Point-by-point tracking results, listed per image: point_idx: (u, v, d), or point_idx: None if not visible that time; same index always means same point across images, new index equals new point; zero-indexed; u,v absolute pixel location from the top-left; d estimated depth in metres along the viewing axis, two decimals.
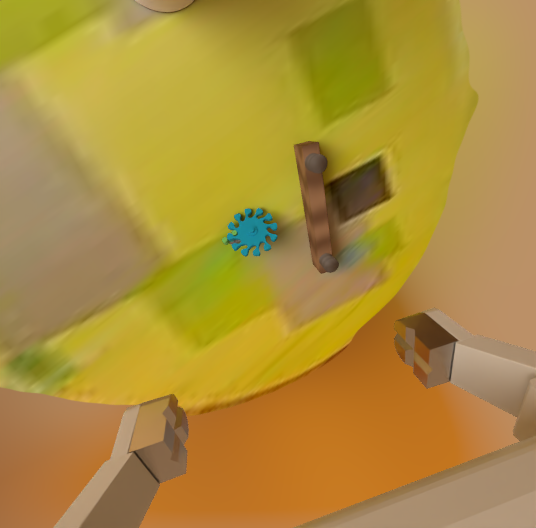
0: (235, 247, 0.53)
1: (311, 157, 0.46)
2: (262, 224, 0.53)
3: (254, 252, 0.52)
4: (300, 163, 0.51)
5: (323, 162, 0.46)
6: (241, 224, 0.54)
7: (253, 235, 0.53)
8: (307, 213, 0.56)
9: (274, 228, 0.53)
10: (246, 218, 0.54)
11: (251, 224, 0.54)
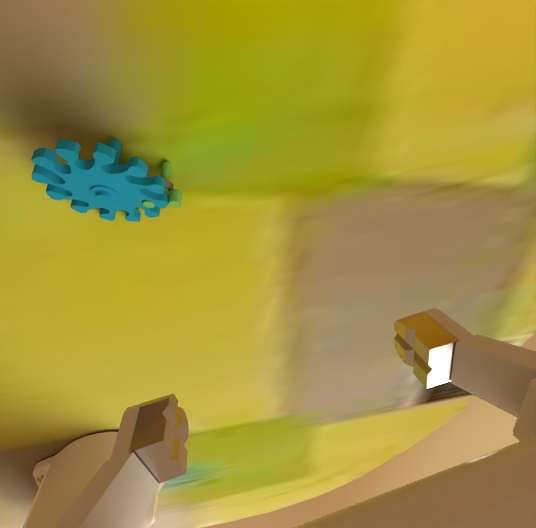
0: (156, 186, 0.23)
1: None
2: (76, 191, 0.23)
3: (109, 160, 0.20)
4: None
5: None
6: (128, 208, 0.26)
7: (103, 186, 0.22)
8: None
9: (40, 174, 0.21)
10: (113, 210, 0.26)
11: (104, 200, 0.24)
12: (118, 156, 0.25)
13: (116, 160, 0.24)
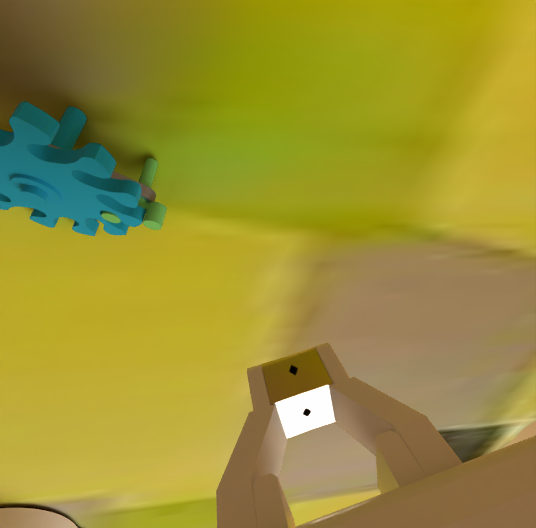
0: (125, 196, 0.14)
1: None
2: None
3: (41, 138, 0.11)
4: None
5: None
6: (78, 217, 0.16)
7: (32, 178, 0.13)
8: None
9: None
10: (52, 215, 0.16)
11: None
12: (76, 135, 0.15)
13: (70, 140, 0.15)
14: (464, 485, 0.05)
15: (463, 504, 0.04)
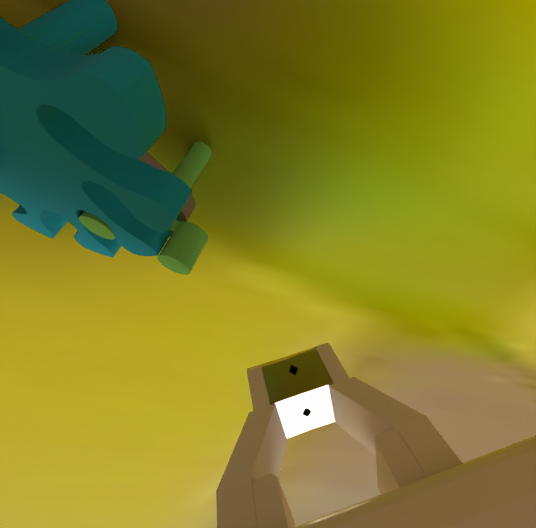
0: (153, 207, 0.06)
1: None
2: None
3: None
4: None
5: None
6: (28, 202, 0.08)
7: None
8: None
9: None
10: None
11: None
12: (84, 46, 0.07)
13: (69, 50, 0.07)
14: (464, 485, 0.05)
15: (463, 504, 0.04)
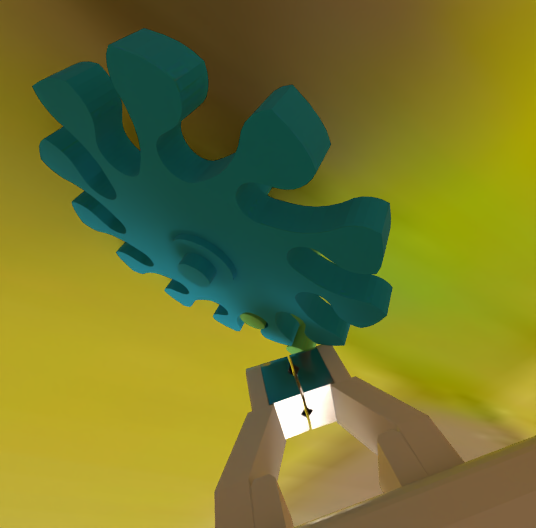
0: (330, 337, 0.09)
1: None
2: (133, 205, 0.07)
3: (358, 263, 0.05)
4: None
5: None
6: (202, 294, 0.10)
7: (224, 258, 0.07)
8: None
9: (81, 100, 0.05)
10: (163, 272, 0.10)
11: (173, 257, 0.09)
12: (269, 190, 0.10)
13: None
14: (464, 485, 0.05)
15: (463, 504, 0.04)
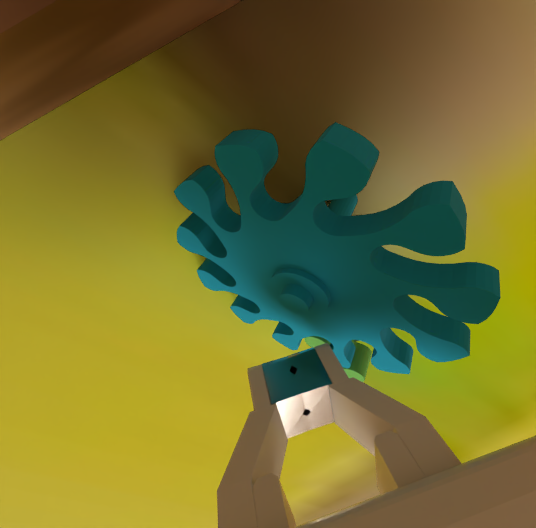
0: (398, 366, 0.10)
1: None
2: (252, 240, 0.08)
3: (464, 314, 0.07)
4: None
5: None
6: (274, 315, 0.11)
7: (327, 292, 0.08)
8: (108, 51, 0.07)
9: (258, 163, 0.06)
10: (242, 293, 0.11)
11: (264, 283, 0.10)
12: None
13: None
14: (464, 485, 0.05)
15: (463, 504, 0.04)
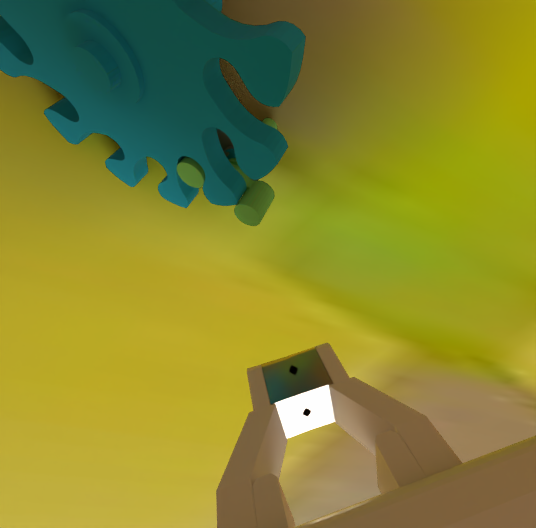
0: (261, 154, 0.07)
1: None
2: None
3: None
4: None
5: None
6: (134, 148, 0.09)
7: (116, 34, 0.06)
8: None
9: None
10: (91, 125, 0.09)
11: (85, 82, 0.08)
12: None
13: None
14: (464, 485, 0.05)
15: (463, 504, 0.04)
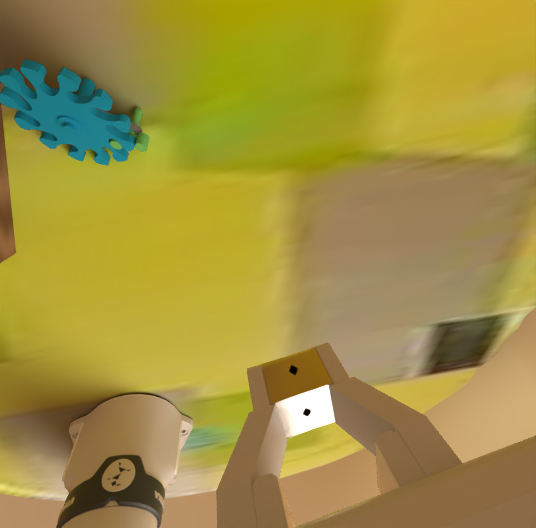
0: (121, 123, 0.24)
1: None
2: (43, 121, 0.24)
3: (73, 86, 0.21)
4: None
5: None
6: (96, 147, 0.27)
7: (69, 117, 0.23)
8: None
9: (7, 96, 0.22)
10: (81, 148, 0.27)
11: (71, 135, 0.25)
12: (90, 95, 0.26)
13: None
14: (464, 485, 0.05)
15: (463, 504, 0.04)
